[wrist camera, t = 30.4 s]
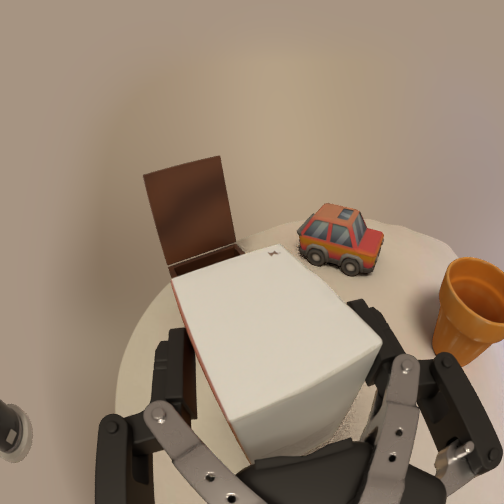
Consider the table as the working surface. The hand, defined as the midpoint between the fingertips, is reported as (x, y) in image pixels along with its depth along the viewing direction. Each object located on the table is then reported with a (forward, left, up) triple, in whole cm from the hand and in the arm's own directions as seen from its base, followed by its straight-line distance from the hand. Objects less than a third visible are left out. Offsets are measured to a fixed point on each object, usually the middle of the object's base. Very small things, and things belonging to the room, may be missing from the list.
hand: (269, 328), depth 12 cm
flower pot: (+31, +6, -24) cm, 40 cm away
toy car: (+21, +35, -24) cm, 47 cm away
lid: (-6, +32, -8) cm, 33 cm away
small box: (0, -1, -11) cm, 11 cm away
